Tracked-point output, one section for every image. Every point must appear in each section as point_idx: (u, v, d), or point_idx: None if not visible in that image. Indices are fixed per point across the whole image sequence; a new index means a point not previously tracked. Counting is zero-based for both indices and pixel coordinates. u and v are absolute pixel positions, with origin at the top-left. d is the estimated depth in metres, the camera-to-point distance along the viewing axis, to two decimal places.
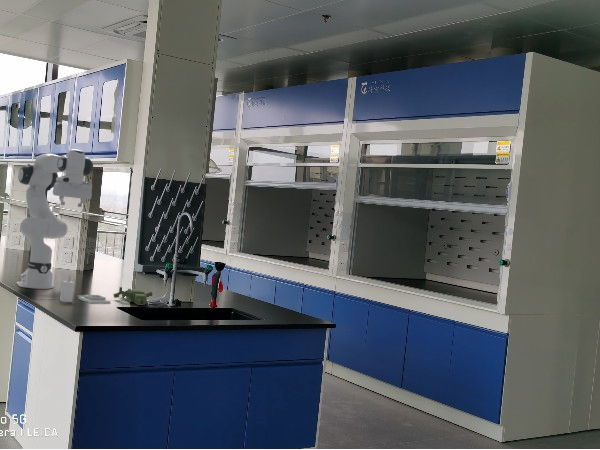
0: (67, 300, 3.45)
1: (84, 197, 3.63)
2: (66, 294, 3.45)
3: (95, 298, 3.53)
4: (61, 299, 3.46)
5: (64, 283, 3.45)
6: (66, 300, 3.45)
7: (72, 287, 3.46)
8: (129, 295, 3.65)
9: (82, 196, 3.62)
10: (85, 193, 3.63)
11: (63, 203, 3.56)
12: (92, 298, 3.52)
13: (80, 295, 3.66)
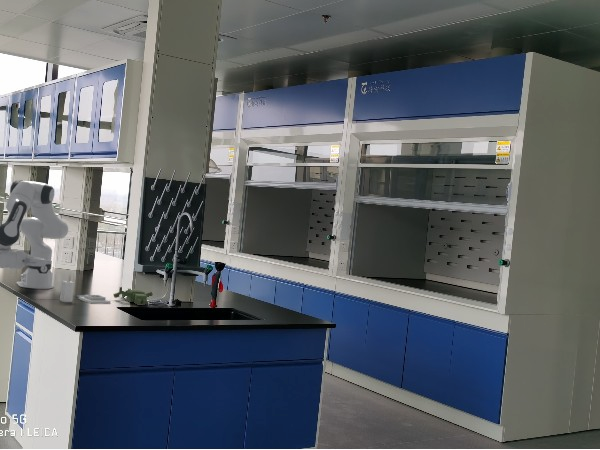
0: (67, 300, 3.45)
1: None
2: (66, 294, 3.45)
3: (95, 298, 3.53)
4: (61, 299, 3.46)
5: (64, 283, 3.45)
6: (66, 300, 3.45)
7: (72, 287, 3.46)
8: (129, 295, 3.65)
9: None
10: None
11: None
12: (92, 298, 3.52)
13: (80, 295, 3.66)
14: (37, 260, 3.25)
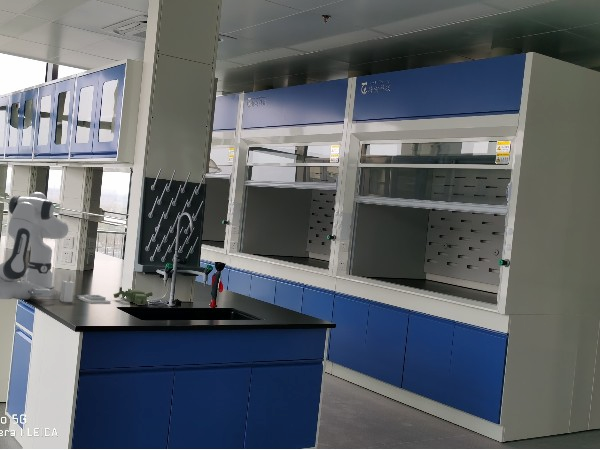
0: (67, 300, 3.45)
1: None
2: (66, 294, 3.45)
3: (95, 298, 3.53)
4: (61, 299, 3.46)
5: (64, 283, 3.45)
6: (66, 300, 3.45)
7: (72, 287, 3.46)
8: (129, 295, 3.65)
9: None
10: None
11: None
12: (92, 298, 3.52)
13: (80, 295, 3.66)
14: (42, 291, 3.29)
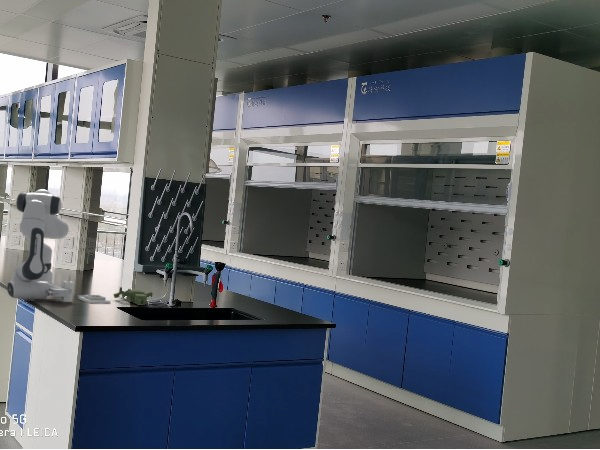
0: (67, 300, 3.45)
1: None
2: None
3: (95, 298, 3.53)
4: (61, 299, 3.46)
5: (64, 283, 3.45)
6: (66, 300, 3.45)
7: (72, 287, 3.46)
8: (129, 295, 3.65)
9: None
10: None
11: None
12: (92, 298, 3.52)
13: (80, 295, 3.66)
14: (60, 291, 3.34)
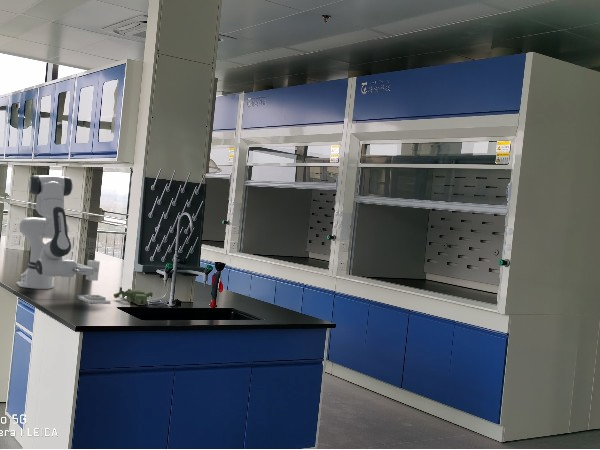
0: (93, 279, 3.54)
1: None
2: None
3: (95, 298, 3.53)
4: (86, 277, 3.55)
5: (90, 262, 3.53)
6: (92, 279, 3.53)
7: (98, 266, 3.55)
8: (129, 295, 3.65)
9: None
10: None
11: None
12: (92, 298, 3.52)
13: (80, 295, 3.66)
14: (86, 269, 3.43)
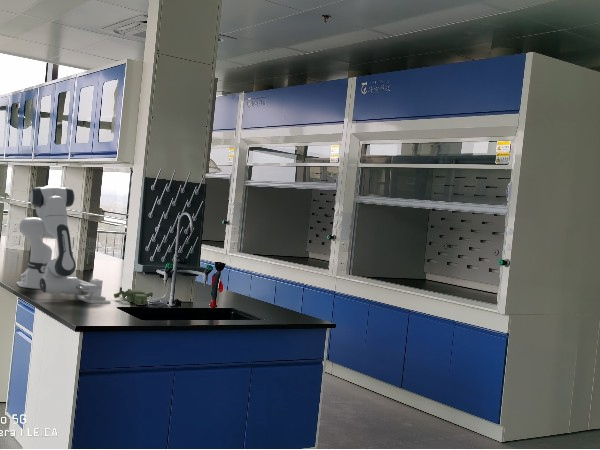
0: None
1: None
2: (95, 292, 3.55)
3: (95, 298, 3.53)
4: None
5: (93, 281, 3.55)
6: None
7: (101, 285, 3.57)
8: (129, 295, 3.65)
9: None
10: None
11: None
12: (92, 298, 3.52)
13: (80, 295, 3.66)
14: (90, 286, 3.45)
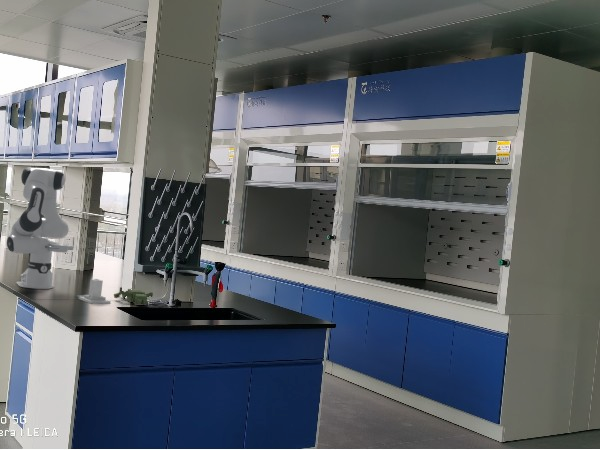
0: None
1: None
2: (95, 292, 3.55)
3: (95, 298, 3.53)
4: None
5: (93, 281, 3.55)
6: None
7: (101, 285, 3.57)
8: (129, 295, 3.65)
9: None
10: None
11: None
12: (92, 298, 3.52)
13: (80, 295, 3.66)
14: (59, 246, 3.34)
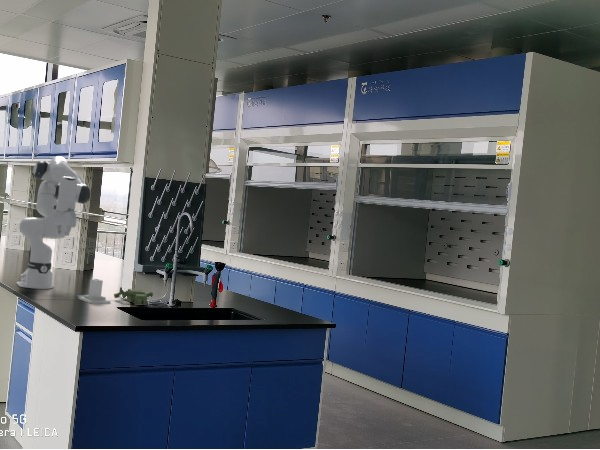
0: None
1: (65, 225, 3.46)
2: (95, 292, 3.55)
3: (95, 298, 3.53)
4: None
5: (93, 281, 3.55)
6: None
7: (101, 285, 3.57)
8: (129, 295, 3.65)
9: (64, 224, 3.46)
10: (66, 220, 3.45)
11: (57, 231, 3.54)
12: (92, 298, 3.52)
13: (80, 295, 3.66)
14: (75, 219, 3.45)
